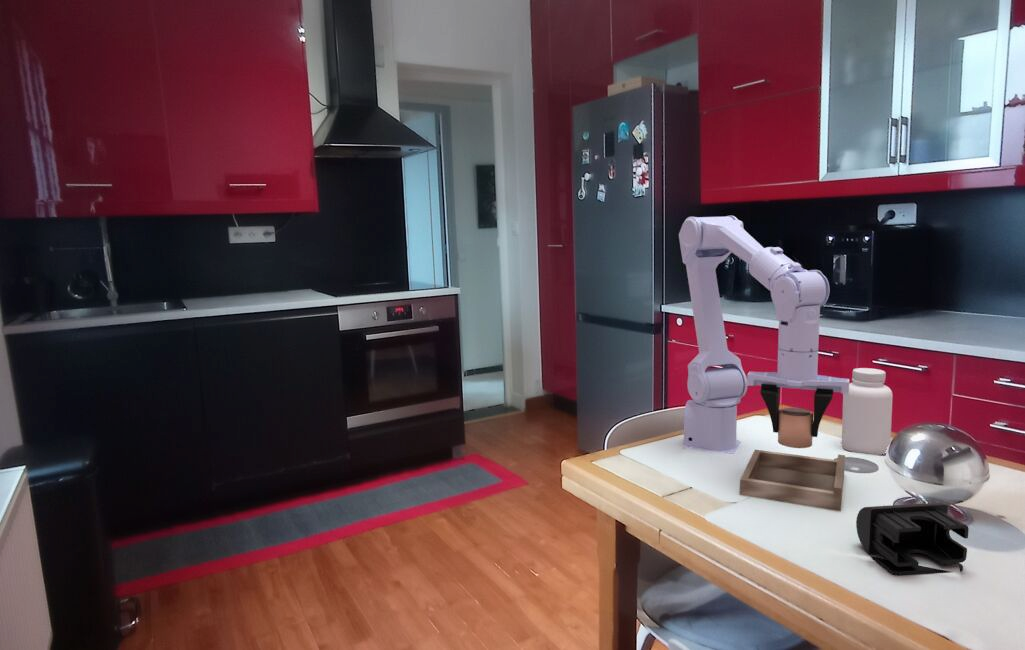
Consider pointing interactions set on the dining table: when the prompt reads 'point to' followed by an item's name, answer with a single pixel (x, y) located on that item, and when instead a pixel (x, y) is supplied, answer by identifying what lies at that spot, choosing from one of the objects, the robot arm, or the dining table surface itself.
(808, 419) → the pot
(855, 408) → the pill bottle
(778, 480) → the wooden tray
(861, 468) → the saucer
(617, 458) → the dining table surface
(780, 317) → the robot arm
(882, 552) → the end cap
